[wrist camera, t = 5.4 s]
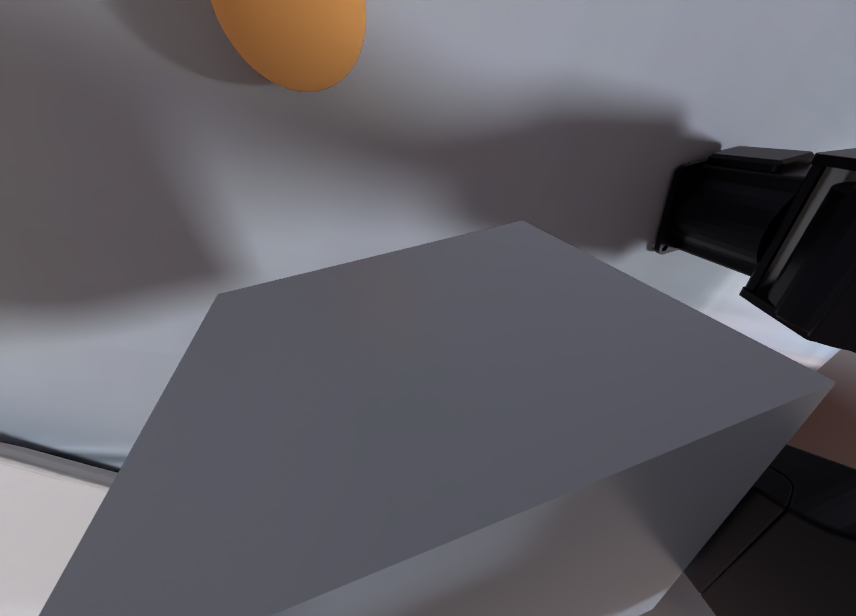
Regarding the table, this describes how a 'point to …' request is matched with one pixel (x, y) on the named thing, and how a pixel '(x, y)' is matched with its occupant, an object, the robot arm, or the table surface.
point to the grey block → (438, 444)
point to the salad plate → (42, 522)
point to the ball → (296, 38)
